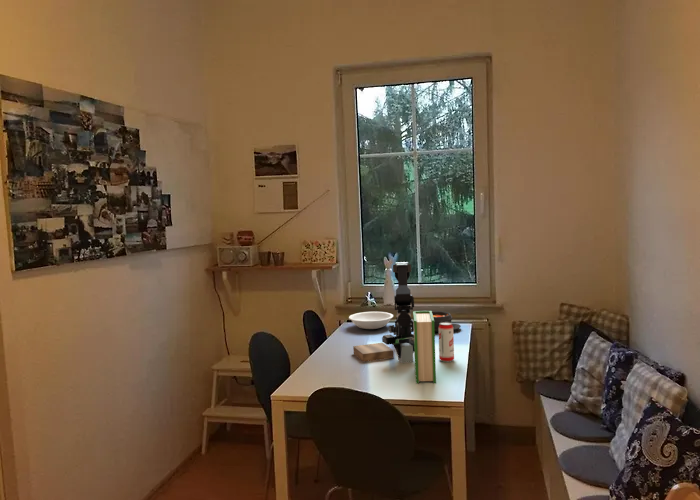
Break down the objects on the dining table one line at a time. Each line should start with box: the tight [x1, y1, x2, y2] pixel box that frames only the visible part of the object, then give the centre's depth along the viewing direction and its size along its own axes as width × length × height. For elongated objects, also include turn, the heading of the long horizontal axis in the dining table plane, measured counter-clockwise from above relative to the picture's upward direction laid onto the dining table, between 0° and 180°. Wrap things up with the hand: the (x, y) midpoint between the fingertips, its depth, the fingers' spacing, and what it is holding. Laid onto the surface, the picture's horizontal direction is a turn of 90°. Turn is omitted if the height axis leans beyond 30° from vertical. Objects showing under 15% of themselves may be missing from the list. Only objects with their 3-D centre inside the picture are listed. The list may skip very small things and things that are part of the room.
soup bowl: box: [348, 311, 394, 330], centre depth 305 cm, size 24×24×7 cm
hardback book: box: [412, 310, 437, 385], centre depth 221 cm, size 18×7×24 cm, turn 175°
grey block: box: [397, 343, 414, 364], centre depth 243 cm, size 5×5×7 cm
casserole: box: [431, 310, 461, 333], centre depth 296 cm, size 25×19×8 cm
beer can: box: [438, 322, 455, 363], centre depth 240 cm, size 6×6×16 cm
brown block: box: [352, 342, 395, 363], centre depth 253 cm, size 14×14×4 cm
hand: (405, 357), depth 243 cm, fingers closed on grey block, 5 cm apart
